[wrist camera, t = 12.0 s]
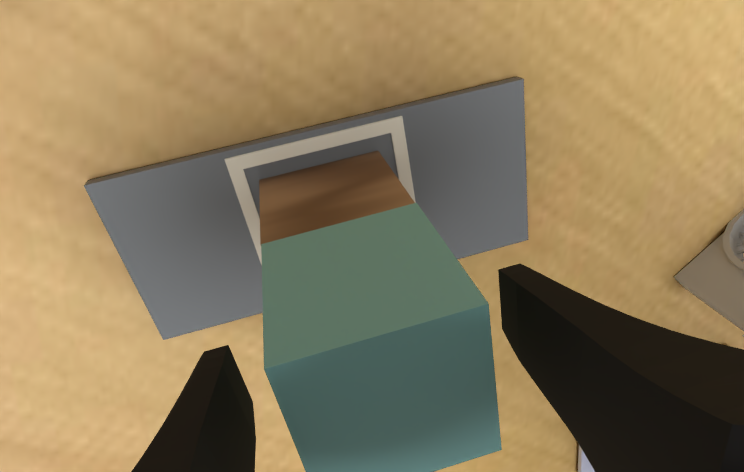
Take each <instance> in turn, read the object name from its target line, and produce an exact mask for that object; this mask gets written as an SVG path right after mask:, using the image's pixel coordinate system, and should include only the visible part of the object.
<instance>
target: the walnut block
mask: <svg viewBox="0 0 744 472" xmlns="http://www.w3.org/2000/svg"><path fill="white" fill-rule="evenodd" d="M259 199H260V245H261V244H264V243H268V242H272V241H275V240H279V239H283V238H286V237H290V236H294V235H298V234H301V233H305V232H309V231H313V230H316V229H320V228H324V227H327V226H331V225H335V224H339V223H342V222H346V221H350V220H354V219H357V218H361V217H365V216H369V215H372V214H376V213H380V212H383V211H387V210H391V209H395V208H398V207H402V206H406V205H410V204H413V203H415V202H414V201H413V199H412V198H411V196H410V195H409V193H408V192H407V191H406V189H405V188H404V186H403V185H402V184H401V182H400V181H399V179H398V178H397V176H396V175H395V174H394V172H393V171H392V169H391V168H390V166H389V165H388V164H387V162H386V161H385V159H384V158H383V157H382V155H381V154H380V152H379V151H374V152H370V153H366V154H361V155H357V156H353V157H349V158H345V159H341V160H337V161H333V162H329V163H325V164H321V165H317V166H313V167H309V168H305V169H301V170H297V171H293V172H289V173H285V174H281V175H277V176H273V177H268V178H264V179H260V180H259Z"/></svg>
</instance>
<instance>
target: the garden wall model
mask: <svg viewBox="0 0 744 472" xmlns="http://www.w3.org/2000/svg"><path fill="white" fill-rule="evenodd" d="M743 253H744V209H743V210H742V211H741V212H740V213H739V214H737V215H736V216H735V217H734V218H733V219H732V220H731V221H730V222H729V223H728V225H727V227H726V230H725V232H724V233H723V234H722V235H720V236H719V237H718V238H717V239H716V240H715V241H714V242H713V243H711V244H710V245H709V246H708V247H707V248H706V249H705V250H704V251H702V252H701V253H700V254H699V255H698V256H697V257H696V258H695V259H693V260H692V261H691V262H690V263H689V264H688V265H687V266H686V267H684V268H683V269H682V270H681V271H680V272H679V273H678V274H677V275H675V276H674V278H675V279H676V280H677V281H678V282H679V283H680V284H681V285H682V286H683V287H684V288H685V289H686V290H688V291H689V292H691V293H692V294H693V295H695V296H696V297H697V298H699V299H700V300H702V301H703V302H704V303H706V304H707V305H708V306H710V307H711V308H713V309H714V310H715V311H717V312H718V313H719V314H721V315H722V316H724V317H725V318H726V319H728V320H729V321H730V322H732V323H733V324H734V325H736V326H737V327H739V328H740V329H741V330H743V331H744V257H743ZM743 337H744V335H743Z"/></svg>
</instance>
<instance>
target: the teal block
mask: <svg viewBox="0 0 744 472" xmlns="http://www.w3.org/2000/svg"><path fill="white" fill-rule="evenodd" d="M261 254H262V297H263V341H264V370H265V372H266V375H267V377H268V380H269V382H270V385H271V387H272V389H273V392H274V394H275V397H276V399H277V402H278V404H279V407H280V409H281V412H282V414H283V416H284V419H285V421H286V424H287V426H288V429H289V431H290V434H291V436H292V439H293V441H294V443H295V446H296V448H297V451H298V453H299V456H300V458H301V461H302V463H303V466H304V468H305V470H306V472H434V471H437V470H440V469H443V468H446V467H449V466H452V465H456V464H459V463H462V462H465V461H468V460H471V459H474V458H477V457H481V456H484V455H487V454H490V453H493V452H496V451H499V450H502V449H501V438H500V427H499V416H498V404H497V393H496V382H495V371H494V360H493V348H492V337H491V326H490V315H489V304H488V302H487V301H486V299H485V298H484V297H483V295H482V294H481V292H480V291H479V290H478V288H477V287H476V285H475V284H474V283H473V281H472V280H471V278H470V277H469V276H468V274H467V273H466V271H465V270H464V269H463V267H462V266H461V264H460V263H459V261H458V260H457V259H456V257H455V256H454V254H453V253H452V252H451V250H450V249H449V247H448V246H447V245H446V243H445V242H444V240H443V239H442V238H441V236H440V235H439V233H438V232H437V231H436V229H435V228H434V226H433V225H432V223H431V222H430V221H429V219H428V218H427V216H426V215H425V214H424V212H423V211H422V209H421V208H420V207H419V205H418V204H417V203H413V204H410V205H406V206H402V207H398V208H395V209H391V210H387V211H383V212H380V213H376V214H372V215H369V216H365V217H361V218H357V219H354V220H350V221H346V222H342V223H339V224H335V225H331V226H327V227H324V228H320V229H316V230H313V231H309V232H305V233H301V234H298V235H294V236H290V237H286V238H283V239H279V240H275V241H272V242H268V243H264V244H261Z"/></svg>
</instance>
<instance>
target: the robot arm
mask: <svg viewBox="0 0 744 472" xmlns="http://www.w3.org/2000/svg"><path fill="white" fill-rule="evenodd" d="M498 272H499V287H500V302H501V317H502V329H503V331H504V333H505V335H506V337H507V339H508V341H509V343H510V345H511V347H512V348H513V350H514V352H515V354H516V355H517V357H518V359H519V361H520V362H521V364H522V365H523V366H524V368H525V369H526V371H527V372H528V373H529V375H530V376H531V378H532V379H533V380H534V382H535V383H536V385H537V386H538V387H539V389H540V390H541V391H542V393H543V394H544V396H545V397H546V398H547V400H548V401H549V402H550V404H551V405H552V407H553V408H554V409H555V411H556V412H557V413H558V415H559V416H560V418H561V419H562V420H563V422H564V423H565V424H566V426H567V427H568V429H569V430H570V432H571V433H572V435H573V436H574V438H575V439H576V441H577V442H578V444H579V455H578V472H744V350H743V349H738V348H734V347H730V346H726V345H721V344H717V343H714V342H710V341H706V340H703V339H699V338H695V337H692V336H688V335H685V334H681V333H678V332H675V331H671V330H668V329H666V328H663V327H660V326H657V325H654V324H651V323H648V322H645V321H642V320H640V319H637V318H634V317H632V316H629V315H627V314H624V313H622V312H620V311H617V310H615V309H613V308H610V307H608V306H605V305H603V304H601V303H599V302H597V301H594V300H592V299H590V298H588V297H586V296H584V295H582V294H580V293H577V292H575V291H573V290H571V289H569V288H567V287H565V286H563V285H561V284H559V283H557V282H556V281H554V280H552V279H550V278H548V277H546V276H544V275H542V274H540V273H538V272H536V271H534V270H532V269H530V268H528V267H526V266H524V265H522V264H517V265H513V266H510V267H506V268H502V269H499V270H498ZM255 447H256V436H255V422H254V411H253V401H252V399H251V397H250V394H249V392H248V390H247V387H246V385H245V383H244V380H243V378H242V376H241V373H240V371H239V369H238V367H237V364H236V362H235V360H234V357H233V355H232V353H231V350H230V348H229V346H228V345H227V346H223V347H219V348H216V349H212V350H209V351H205V352H204V353H203V354H202V356H201V358H200V359H199V361H198V363H197V365H196V367H195V369H194V370H193V372H192V374H191V376H190V378H189V380H188V382H187V383H186V385H185V387H184V389H183V391H182V392H181V394H180V396H179V398H178V399H177V401H176V403H175V405H174V406H173V408H172V410H171V411H170V413H169V415H168V417H167V418H166V420H165V422H164V423H163V425H162V427H161V428H160V430H159V431H158V433H157V434H156V436H155V438H154V439H153V441H152V442H151V444H150V445H149V447H148V448H147V450H146V451H145V453H144V454H143V456H142V457H141V459H140V460H139V462H138V463H137V465H136V466H135V467H134V469H133V470H132V472H255Z"/></svg>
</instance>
